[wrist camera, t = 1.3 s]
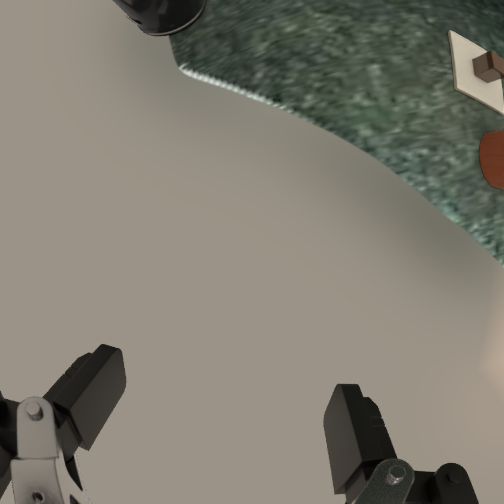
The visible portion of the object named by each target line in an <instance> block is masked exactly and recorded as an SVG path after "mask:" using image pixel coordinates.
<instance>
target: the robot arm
mask: <svg viewBox="0 0 504 504" xmlns="http://www.w3.org/2000/svg"><path fill="white" fill-rule="evenodd" d="M113 1H114V2H115V3H116V4H117V5H118V6H119V7H120V8H121V9H122V10H123V11H124V12H125V13H126V14H127V15H128V16H129V17H130V18H131V19H132V20H131V19H130V18H129V20H131V21H132V22H134V23H136V24H137V25H138V27H139V28H140V29H141V30H142V31H143V32H144V33H146V34H148V35H151V36H167V35H171V34H174V33H177V32H179V31H181V30H184V29H185V28H187V27H188V26H190V25H191V24H193V23H194V22H195V21H196V20H197V19H198V18H199V17H200V15H201V14H202V12H203V10H204V7H205V0H113ZM127 18H128V17H127ZM125 387H126V375H125V368H124V362H123V355H122V351H121V350H120V349H119V348H115V347H112V346H109V345H105V344H101V345H100V346H99V347H98V348H97V349H96V350H95V351H94V352H93V354H92V353H87V354H85V355H83V356H81V357H79V358H78V359H77V360H76V361H75V362H74V363H73V364H72V365H71V367H69V369H68V370H66V372H65V374H63V375H62V376H61V377H60V378H59V379H58V380H57V382H56V383H55V384H54V385H53V386H52V387H51V388H50V390H49V391H48V392H47V393H46V394H45V395H44V396H43V397H42V398H41V397H30V398H27V399H25V400H23V401H22V402H21V403H20V402H15V401H11V400H8V399H5V398H4V397H3V396H2V393H1V391H0V499H1V497H2V495H3V494H4V492H5V490H6V488H7V486H8V484H9V483H10V481H11V479H12V486H13V493H14V500H15V504H92V503H91V502H90V499H89V497H88V495H87V492H86V489H85V486H84V482H83V479H82V475H81V472H80V468H79V464H78V460H77V456H76V453H75V451H76V450H77V448H78V446H79V447H81V448H83V449H85V450H88V451H89V450H90V448H91V446H92V444H93V443H94V441H95V439H96V437H97V436H98V434H99V432H100V431H101V429H102V428H103V426H104V424H105V422H106V421H107V419H108V417H109V416H110V414H111V412H112V411H113V409H114V408H115V406H116V404H117V403H118V401H119V399H120V398H121V396H122V394H123V393H124V390H125ZM381 417H382V416H381V414H380V411H379V408H378V406H377V405H376V404H375V403H374V402H373V401H372V400H371V399H370V398H369V397H363V395H362V392H361V390H360V387H359V385H358V384H337V385H336V387H335V390H334V392H333V394H332V397H331V399H330V402H329V404H328V406H327V409H326V411H325V415H324V431H325V436H326V442H327V448H328V454H329V460H330V467H331V473H332V480H333V486H334V493H335V494H345V495H346V501H345V502H344V503H343V504H479V503H478V500H477V497H476V494H475V492H474V489H473V486H472V484H471V481H470V479H469V476H468V474H467V472H466V470H465V469H464V468H463V467H462V466H460V465H458V464H456V463H447V464H444V465H442V466H441V467H440V468H439V469H438V470H437V471H436V472H425V471H414V470H413V469H412V467H411V466H410V465H409V464H408V463H407V462H405V461H403V460H401V459H398V458H397V456H396V453H395V450H394V448H393V445H392V442H391V440H390V437H389V434H388V432H387V429H386V427H385V424H384V421H383V419H382V418H381Z"/></svg>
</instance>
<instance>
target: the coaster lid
mask: <svg viewBox="0 0 504 504" xmlns="http://www.w3.org/2000/svg"><path fill="white" fill-rule="evenodd" d="M448 37H449V43H450V50H451V57H452V66H453V76H454V89H455V90H457V91H459V92H461V93H463V94H465V95H467V96H469V97H471V98H473V99H475V100H477V101H478V102H480V103H482V104H484V105H486V106H487V107H489V108H491V109H492V110H494V111H496V112H497V113H499V114H501V115H504V102H503V92H502V84H501V79H502V78H504V59H503V58H501V57H500V56H499V55H497V54H496V53H494V52H493V51H489V52H487V51H485V50H484V49H482V48H481V47H479V46H477V45H476V44H474V43H472V42H471V41H469V40H467V39H466V38H464V37H462V36H460V35H458V34H457V33H455V32H453V31H451V30H449V31H448Z"/></svg>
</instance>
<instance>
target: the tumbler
mask: <svg viewBox="0 0 504 504" xmlns="http://www.w3.org/2000/svg"><path fill="white" fill-rule="evenodd" d="M479 158H480V164H481V168H482V171H483V174H484V176H485V178H486V180H487V181H488V183H489V184H490V185H491V186H493V187H494V188H497V189H501V190H504V129H503V130H494V131H490V132H487V133H486V134H485V135H484V136H483V138H482V140H481V143H480V149H479Z"/></svg>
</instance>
